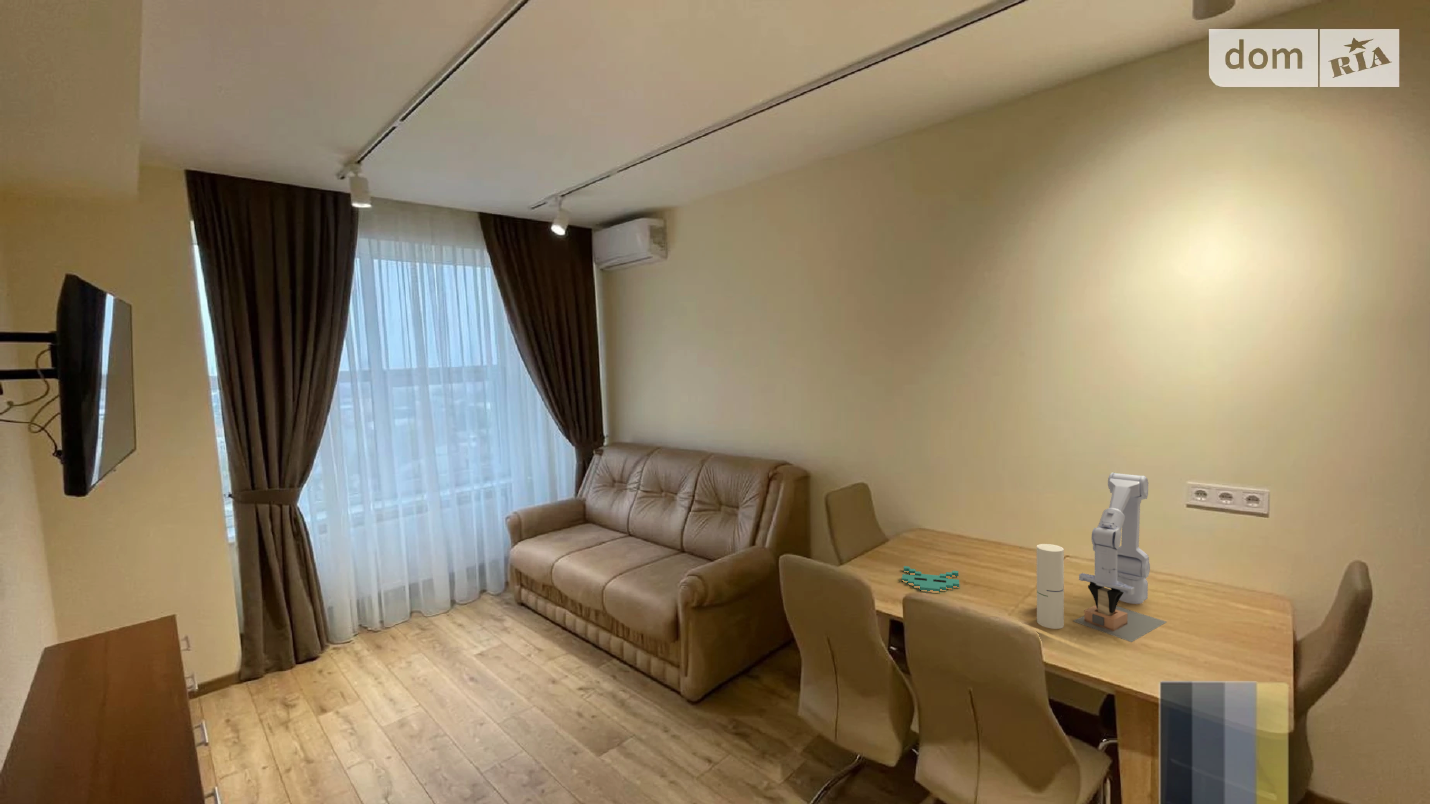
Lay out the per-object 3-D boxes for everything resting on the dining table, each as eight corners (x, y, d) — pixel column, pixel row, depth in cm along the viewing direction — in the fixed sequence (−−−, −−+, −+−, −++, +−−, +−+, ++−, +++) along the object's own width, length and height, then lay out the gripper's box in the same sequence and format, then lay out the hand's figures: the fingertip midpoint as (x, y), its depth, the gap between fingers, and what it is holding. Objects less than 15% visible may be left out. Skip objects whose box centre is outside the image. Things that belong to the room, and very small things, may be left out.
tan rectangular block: (1102, 615, 174) (1103, 587, 173) (1113, 618, 171) (1113, 590, 171) (1097, 617, 173) (1097, 589, 172) (1108, 621, 170) (1108, 592, 169)
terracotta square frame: (1099, 613, 178) (1099, 603, 178) (1128, 623, 171) (1128, 612, 171) (1083, 621, 173) (1083, 610, 173) (1112, 631, 166) (1112, 620, 166)
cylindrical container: (1063, 633, 168) (1063, 552, 167) (1036, 628, 172) (1036, 549, 170) (1063, 624, 174) (1063, 545, 173) (1037, 619, 178) (1037, 542, 176)
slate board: (1109, 606, 185) (1109, 603, 185) (1167, 625, 171) (1167, 621, 171) (1072, 624, 174) (1072, 621, 174) (1131, 645, 160) (1131, 642, 160)
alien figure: (904, 571, 224) (900, 590, 205) (903, 566, 224) (900, 585, 205) (958, 576, 216) (959, 597, 198) (958, 571, 216) (959, 591, 198)
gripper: (1073, 562, 175) (1073, 604, 176) (1126, 576, 163) (1125, 622, 164) (1085, 558, 179) (1085, 599, 180) (1138, 571, 166) (1137, 615, 167)
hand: (1105, 609), depth 172 cm, fingers closed on tan rectangular block, 3 cm apart
